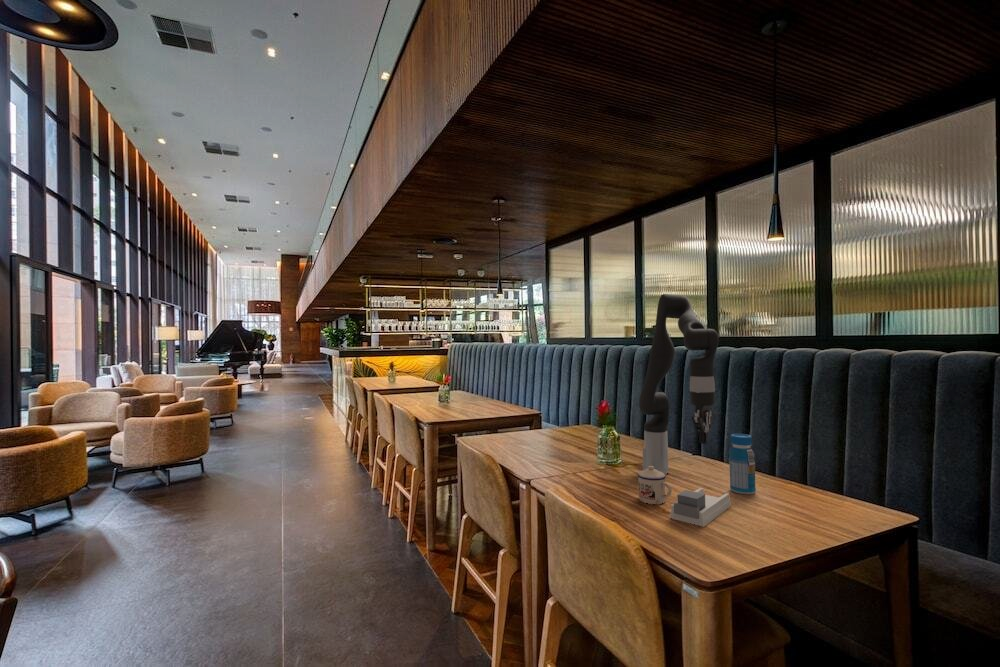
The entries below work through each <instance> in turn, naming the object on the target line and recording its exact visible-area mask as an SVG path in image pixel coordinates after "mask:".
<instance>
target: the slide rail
mask: <svg viewBox="0 0 1000 667" xmlns="http://www.w3.org/2000/svg"><path fill="white" fill-rule="evenodd" d="M693 492H698V493H703V494H704V488H703V487H699V488H698V489H695V490H694V491H693ZM731 504H732V503H731V500H730V493H727V492H725V493H724V494H723V495H721V496H720V497H717V496H713V495H709V494H705V508H704V509H702V510H701V511H700V512H699V508H698V507H693V506H689V505H685V504H681V503H678V500H677V501H675V502H674V503H672V504H670V511H669V514H670V517H669V518H670V519H671V518H672V519H671V520H676V521H680V522H683V523H688V524H690V523H691V524H690V525H694V524H695V526H698V525H699V527H701V528H702V527H703V528H705V527H706V526H707V525H708V524H709V523H711V522H712V521H713V520H715V519H716V518H717V517H719V516H721V514H723V513H724V512H725V511H726V509H727V508H728V509H729V508H731V506H732V505H731ZM728 509H727V510H728Z"/></svg>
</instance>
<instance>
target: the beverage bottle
mask: <svg viewBox="0 0 1000 667" xmlns="http://www.w3.org/2000/svg"><path fill="white" fill-rule="evenodd" d="M730 444H731V445H732V446H731V447H730V449H729V451H728V454H729V458H728V463H729V482H730V484H729V485H730V486H729V489H730V490H731V491H732V492H734V493H735V494H741V495H754V494H755V493H756V492H757V491H756V490H757V488H756V460H755V459H754V458H755V456H756V454H755V452H754V449H752V447H751V446H752V445H753V438H752V435H750V434H746V433H745V434H744V433H732V434H730Z"/></svg>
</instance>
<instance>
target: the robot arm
mask: <svg viewBox="0 0 1000 667" xmlns="http://www.w3.org/2000/svg"><path fill="white" fill-rule="evenodd" d="M655 319H656V320H655V325H654V334H653V338H652V343H651V346H650V352H649V358H648V363H647V364H648V365H647V370H646V375H645V378H644V382H643V386H642V389H641V392H640V395H639V399H638V400H639V401H638V406H639V411H640V412H641V413H642V414H643V415H645V416H652V415H653V417H652V418H651V419H650V420H648V421H647V422H645V423H644V425H643V431H644V432H643V433H644V434H643V435H644V441H643V442H644V447H643V448H642V468H643V469H642V471H643V470H645V469H648V466H654V469H656V470H658V471H660V472H662V473H664V474H665V475H667V473H668V472H669V444H668V443H669V442H668V441H669V440H668V438H669V437H668V427H669V423H670V421H669V419H670V401H669V398H668V396H667V394H666V393H665V392H663V391H657V389H658V386H659V384H660V383H661V382H662V380H664V378H665V377H666V376H667V375H668V373H669V371H670V370H672V367H673V362H674V360H675V355H676V354H675V353H676V350H675V346H674V343H673V341H672V339H671V338H670V334H669V333H668V330H667V319H675V320H677V326H678V328H679V331H680V332H681V333H682V336H683V345H684V347H685V348H686V349H687V350H689V351H704V353H703V354H702V355H701V356H699V357H694V358H692V359H690V362H689V375H690V376H689V402H690V403H689V404H690V405H693V406H695V408H694V416H691V420H692V423H693V426H694V428H695V431H696V432H698V438H699V439H698V440H699V443H700V444H702V445H708V443H709V435H708V434H709V431H710V429H711V428H712V423H713V418H714V412H712V410H711V407H712V406H715V405H716V382H715V377H714V375H715V374H714V372H715V371H714V364H715V358H716V353H717V350H718V346H719V342H720V339H719V338H720V336H719V333H718V331H716V330H715V329H714V328H705V326H704V324H703V323H702V322H701V321H700V319H699V318H698V317H697V316H696V314H695V312H694V309H693V306H692V303H691V301H690V300H689V298H688V297H687V296H685V295H682V294H681V295H680V294H670V293H663V294H661V295H660V297H659V299H658V303H657V308H656V318H655ZM668 474H669V473H668Z"/></svg>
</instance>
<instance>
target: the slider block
mask: <svg viewBox="0 0 1000 667" xmlns="http://www.w3.org/2000/svg"><path fill="white" fill-rule="evenodd" d="M705 495H706V493H704V492H703V493H698V492H694V491H693V490H688V489H685V490H682V491H681V492H679V493H677V495H676V496H677V498H676V499H677V501H678V503H681V504H685V505H689V506H693V507H698V508H699V512H700V511H701V510H702V509H704V508H705Z"/></svg>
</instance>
